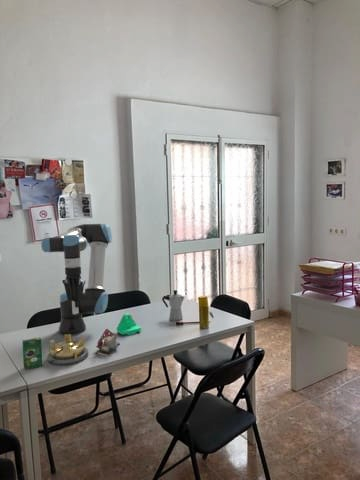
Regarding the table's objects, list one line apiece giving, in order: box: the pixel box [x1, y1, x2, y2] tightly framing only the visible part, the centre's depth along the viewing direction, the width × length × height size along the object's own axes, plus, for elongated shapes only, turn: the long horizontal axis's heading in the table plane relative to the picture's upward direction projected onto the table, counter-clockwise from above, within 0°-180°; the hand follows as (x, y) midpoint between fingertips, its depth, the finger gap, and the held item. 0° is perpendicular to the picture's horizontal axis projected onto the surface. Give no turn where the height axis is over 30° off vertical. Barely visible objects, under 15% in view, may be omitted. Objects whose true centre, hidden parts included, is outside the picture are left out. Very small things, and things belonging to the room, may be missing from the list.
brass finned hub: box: [49, 334, 86, 359], centre depth 188 cm, size 16×16×6 cm
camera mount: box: [116, 312, 142, 336], centre depth 220 cm, size 12×8×10 cm, turn 122°
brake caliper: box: [95, 328, 121, 357], centre depth 195 cm, size 11×11×12 cm
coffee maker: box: [161, 289, 186, 322], centre depth 243 cm, size 15×9×18 cm, turn 84°
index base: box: [46, 347, 89, 367], centre depth 188 cm, size 19×19×5 cm
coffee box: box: [22, 337, 44, 370], centre depth 178 cm, size 8×3×13 cm, turn 120°
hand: (75, 313), depth 192 cm, fingers closed
